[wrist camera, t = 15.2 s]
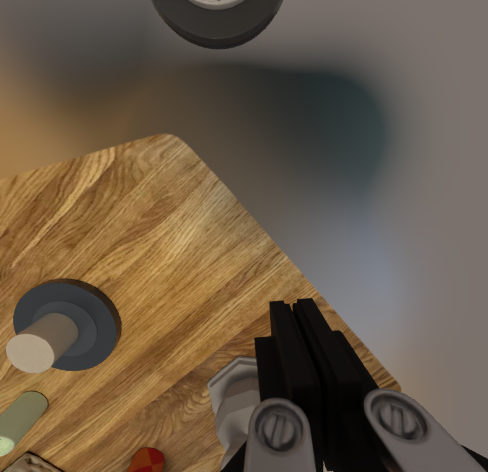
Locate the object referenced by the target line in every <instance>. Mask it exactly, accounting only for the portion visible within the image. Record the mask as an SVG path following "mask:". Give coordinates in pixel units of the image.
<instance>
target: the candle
mask: <svg viewBox="0 0 488 472" xmlns="http://www.w3.org/2000/svg"><path fill="white" fill-rule="evenodd" d="M47 406H48V402H47V399H46V398H45V397H44V396H43V395H42V394H40V393H38V392H33V391H30V392H25V393H23V394H22V395H21V396H20V397H19V398H18V399H17V400H16V401H15V402H14V403H13V404H12V405H11V406H10V407H9V408H8V409H7V410H6V411H5V412H4V413H3V414H2V415H1V416H0V456H3V455H5V454H7V453H9V452H10V451H12V450H13V449H14V447H15V446H16V445H17V444H18V443H19V441H20V440H21V439H22V438H23V437H24V435H25V434H26V433H27V432H28V431H29V429H30V428H31V427H32V426H33V425H34V423H35V422H36V421H37V420H38V419H39V417H40V416H41V415H42V414H43V413H44V411H45V410H46V409H47Z"/></svg>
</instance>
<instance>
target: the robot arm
mask: <svg viewBox="0 0 488 472" xmlns="http://www.w3.org/2000/svg"><path fill="white" fill-rule="evenodd" d="M188 1H190V2H191V3H193V4H195V5H197V6H199V7H202V8H205V9H210V10H223V9H227V8H231V7H234V6H236V5H237V4H239V3H241V2H243V1H244V0H220V1H218V0H188ZM270 320H271V336H268V337H257V338H254V339H255V351H256V362H257V373H258V384H259V394H260V404H259V405H257V406H256V407H255V409H254V410H253V412H252V414H251V416H250V420H249V425H248V435H247V440H246V441H245V442H244V444H243V445H242V446H241V447H240V449H239V450H238V451H237V452H236V453H235V455H234V456H233V457H232V458H231V459H230V461H229V462H228V463H227V464H226V465H225V467H224V468H223V469H222V470H221V471H220V472H323V461H324V464H325V467H326V469H327V471H333V472H488V459H487V458H485V457H483V456H481V455H479V454H477V453H476V452H474V451H472V450H470V449H468V448H466V447H464V446H462V445H460V444H459V443H458V442H457V441H456V440H455V439H454V438H453V437H452V436H451V435H450V434H449V433H448V432H447V431H446V430H445V429H444V428H443V427H442V426H441V425H440V424H439V423H438V422H437V421H436V420H435V419H434V418H433V416H432V415H430V413H429V412H428V411H427V410H426V409H424V407H422V406H421V405H420V404H419V403H418V402H417V401H415V400H414V399H412V398H411V397H409V396H407V395H406V394H404V393H401V392H398V391H396V390H392V389H386V388H382V389H379V387H378V386H377V384H376V383H375V381H374V380H373V378H372V377H371V375H370V374H369V372H368V371H367V369H366V368H365V366H364V365H363V363H362V362H361V360H360V359H359V357H358V356H357V354H356V353H355V351H354V350H353V348H352V347H351V345H350V344H349V342H348V341H347V339H346V338H345V336H344V335H343V333H342V332H341V331H339V330H337V331H332V330H331V328H330V327H329V325H328V324H327V322H326V320H325V319H324V317H323V315H322V314H321V312H320V310H319V309H318V307H317V306H316V304H315V302H314V301H313V299H312V298H306V299H298V300H297V303H293V312H292V310H291V307H290V305H289V304H285V303H284V301H272V302H270Z"/></svg>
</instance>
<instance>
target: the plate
mask: <svg viewBox="0 0 488 472" xmlns="http://www.w3.org/2000/svg"><path fill="white" fill-rule="evenodd" d="M49 313H60V314H63V315H66V316H68V317H69V318H71V319H72V320H73V321H74V322H75V324H76V326H77V328H78V338H77V340H76V342H75V343H74V344H73V345H72V346H71V347H70V348H69V349H68V350H67V351H66V352H65V353H64V354H63V355H62V356H61V357H60V358H59V359H58V360H57V361H56V362H55V363H54V364H53V365H52V366H51V367H53V368H56V369H60V370H66V371H80V370H86V369H89V368H92V367H94V366H97V365H98V364H100V363H102V362H103V361H104V360H105V359H106V358H107V357H108V356H109V355H110V354H111V352H112V351H113V349H114V348H115V347H116V345H117V343H118V341H119V338H120V334H121V322H120V317H119V314H118V312H117V310H116V308H115V306H114V305H113V303H112V302H111V301H110V299H109V298H108V297H107V296H106V295H105V294H104V293H102V292H101V291H100V290H98V289H97V288H95V287H93V286H92V285H89V284H87V283H85V282H81V281H78V280H73V279H55V280H50V281H47V282H44V283H42V284H40V285H38V286H36V287H35V288H33V289H31V290H30V291H28V292H27V293H26V294H24V295H23V296H22V298H21V299H20V300H19V302H18V303H17V305H16V308H15V311H14V316H13V324H14V330H15V333H16V335H17V334H18V333H20V332H21V331H23V330H24V329H25V328H27V327H28V326H30V325H31V324H32V323H34V322H35V321H37V320H38V319H40V318H41V317H42V316H44V315H46V314H49Z"/></svg>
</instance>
